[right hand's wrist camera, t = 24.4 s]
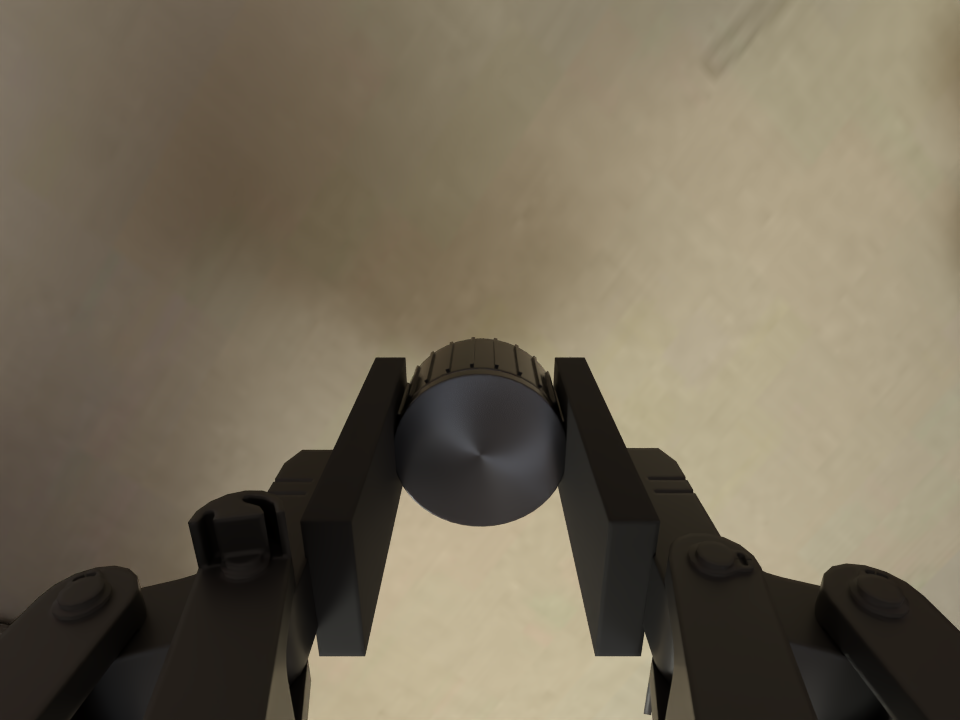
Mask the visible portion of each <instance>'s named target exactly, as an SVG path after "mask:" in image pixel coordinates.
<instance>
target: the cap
mask: <svg viewBox="0 0 960 720" xmlns="http://www.w3.org/2000/svg"><path fill="white" fill-rule="evenodd" d="M397 417H399V419H398V422H397V425H396V429H395V432H394V447H395V463H396V473H397V476H398V478H399V480H400V482H401V484H402V486H403V487H404V488H405V490H406V491H407V493H408V494H409V495H410V496H411V497H412V498H413V499H414V501H415V502H417V503H418V504H419V505H420V506H421V507H423V508H424V509H425V510H427V511H428V512H430V513H431V514H433V515H435V516H437V517H439V518H441V519H444V520H447V521H450V522H453V523H457V524H461V525H467V526H495V525H500V524H505V523H508V522H512V521H515V520H517V519H519V518H522V517H524V516H526V515H528V514H529V513H531V512H533V511H534V510H536V509H537V508H538V507H540V506H541V505H542V504H543V503H544V502H545V501H546V500H547V499H548V498H549V497H550V496H551V495H552V494H553V492H554V491H555V490H556V488H557V487H558V485H559V483H560V481H561V479H562V477H563V475H564V471H565V457H566V441H567V436H566V431H565V427H564V418H563V415H562V411H561V408H560V404H559V401H558V398H557V394H556V391H555V390H554V387H553V385H552V381H551V377H550V373H549V372H548V371H547V372H546V371H545V370H544V369H543V367H542V366H541V365H540V364H539V363H538V362H537V359H536V357H535V356H533V357H532V356H531V355H529V354H528V353H527V352H525V351H523V350H522V349H520V348H519V347H518V345H516V344H515V346H514V345H511V344H509V343H506V342H502V341H499V340H497V338H494V340H492V339H484V338H483V339H482V338H480V339H475V337H472V338H471V339H468V340H463V341H459V342H455V343H453V342H450V344H449V345H447V346H445V347H443V348H441V349H439V350H438V351H436V352H435V353H434V351H433V352H431V354H430V356H429V357H428V358H427V359H426V360H425V361H424V362H423V363H422V364H421V365H420V366H417V367H416V369H415V372H414V375H413V377H412V379H411V381H410V383H407V384H406V387H405V391H404V394H403V397H402V400H401V403H400V407H399V410H398V413H397Z"/></svg>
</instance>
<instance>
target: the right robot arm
mask: <svg viewBox="0 0 960 720" xmlns="http://www.w3.org/2000/svg"><path fill="white" fill-rule="evenodd" d="M406 384H407V378H406V359H405V358H375V360H374V363H373V365H372V367H371V369H370V371H369V373H368V375H367V378H366V380H365V382H364V384H363V386H362V388H361V391H360V393H359V395H358V397H357V399H356V401H355V404H354V406H353V408H352V410H351V412H350V414H349V416H348V419H347V421H346V423H345V425H344V427H343V429H342V432H341V434H340V436H339V438H338V440H337V442H336V445H335V447H334V449H333V450H301V451H300V452H299V453H297V454H296V455H295V456H294V457H292V458H291V459H290V460H288V461H287V462H286V463H284V465H283V467H282V468H281V470H280V472H279V473H278V475H277V477H276V478H275V482H273V484H272V485H271V487H270V489H269V490H268V492H265V491H241V492H237V493H232V494H227V495H225V496H222V497H220V498H218V499H215V500H213V501H211V502H209V503H208V504H206V505H205V506H203V507H202V508H201V509H199V510H198V511H196V513H195V514H194V515H193V517H192V518H191V519H190V521H189V522H188V525H189V529H190V533H191V537H192V542H193V546H194V550H195V554H196V558H197V563H198V567H199V569H198V572H197V574H195V575H192V576H189V577H186V578H182V579H179V580H174V581H170V582H166V583H161V584H157V585H152V586H148V587H144V588H140V584H139V581H138V577H137V576H136V575H135V574H134V573H133V572H132V571H131V570H130V569H128V568H123V567H118V566H108V567H98V568H93V569H90V570H87V571H83V572H81V573H77V574H75V575H73V576H71V577H69V578H67V579H65V580H63V581H61V582H59V583H57V584H55V585H54V586H53V587H51V588H50V589H49V590H47V591H46V592H45V593H44V594H42V595H41V596H40V597H39V598H37V599H36V600H35V601H34V602H33V603H32V604H31V605H30V606H29V607H28V608H27V609H26V610H25V611H24V612H23V613H22V614H21V615H20V616H19V617H18V618H17V619H16V620H15V621H14V622H13V623H12V624H11V625H6V624H0V720H307V719H308V708H309V697H310V686H311V677H310V670H309V664H308V656H309V653H310V650H311V647H312V644H313V641H314V638H315V635H316V636H317V643H318V649H319V656H365V654H366V650H367V645H368V641H369V636H370V632H371V627H372V622H373V618H374V613H375V609H376V604H377V600H378V595H379V591H380V586H381V581H382V577H383V572H384V568H385V563H386V559H387V554H388V550H389V545H390V540H391V536H392V531H393V527H394V522H395V518H396V513H397V508H398V504H399V499H400V495H401V490H402V484H401V482H400V480H399V478H398V476H397V473H396V463H395V447H394V432H395V429H396V425H397V422H398V419H399V417H397V413H398V410H399V407H400V403H401V400H402V397H403V394H404V391H405V387H406ZM553 387H554V390H555V391H556V394H557V398H558V401H559V404H560V408H561V411H562V415H563V418H564V427H565V431H566V436H567V441H566V457H565V471H564V475H563V477H562V479H561V481H560V483H559V485H558V489H559V493H560V498H561V502H562V507H563V511H564V516H565V521H566V525H567V530H568V534H569V539H570V543H571V548H572V552H573V557H574V562H575V566H576V571H577V575H578V580H579V584H580V589H581V593H582V598H583V603H584V607H585V612H586V616H587V621H588V625H589V630H590V634H591V639H592V644H593V648H594V653H595V656H641V652H642V645H643V638H644V631H645V634H646V637H647V640H648V643H649V646H650V649H651V652H652V655H653V657H652V664H651V670H650V677H649V683H648V689H647V696H646V702H645V709H644V714H648V715H651V712H652V718H653V720H960V631H959V630H958V629H957V628H956V627H955V626H954V625H953V624H952V623H951V622H950V621H949V620H948V619H947V618H946V617H945V616H944V615H943V614H942V613H941V612H940V611H939V610H938V609H937V608H936V607H935V606H934V605H933V604H932V603H931V602H929V601H928V600H927V599H926V598H925V597H924V596H923V595H922V594H921V593H919V592H918V591H917V590H916V589H914V588H913V587H912V586H911V585H909V584H908V583H907V582H905V581H903V580H901V579H899V578H897V577H895V576H893V575H891V574H889V573H887V572H885V571H882V570H879V569H875V568H872V567H869V566H866V565H856V564H842V565H837V566H832V567H831V568H830V569H829V570H828V571H827V572H826V573H824V575H823V579H822V582H821V586H818V585H814V584H809V583H805V582H800V581H796V580H792V579H787V578H783V577H779V576H776V575H772V574H769V573H766V572H764V571H762V568H761V566H760V565H759V563H758V562H757V560H756V559H755V557H754V556H753V555H752V554H751V553H750V552H748V551H747V550H746V549H745V548H743V547H742V546H741V545H739V544H737V543H735V542H733V541H731V540H729V539H726V538H724V537H721V536H720V534H719V533H718V531H717V529H716V528H715V526H714V524H713V522H712V521H711V519H710V517H709V516H708V514H707V512H706V511H705V509H704V507H703V506H702V504H701V502H700V501H699V499H698V497H697V496H696V494H695V493H693V489H692V487H691V486H690V484H689V482H688V481H687V480H686V479H685V475H684V474H683V472H682V470H681V469H680V467H679V465H678V464H677V462H676V461H675V460H673V459H672V458H671V457H669V456H668V455H667V454H665V453H664V452H663V451H661V450H660V449H659V448H626V446H625V444H624V442H623V439H622V437H621V435H620V433H619V431H618V429H617V426H616V424H615V422H614V420H613V418H612V416H611V413H610V411H609V409H608V407H607V405H606V403H605V401H604V398H603V396H602V394H601V392H600V390H599V388H598V385H597V383H596V381H595V379H594V377H593V375H592V372H591V370H590V368H589V366H588V364H587V362H586V360H585V358H555V367H554V385H553Z"/></svg>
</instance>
